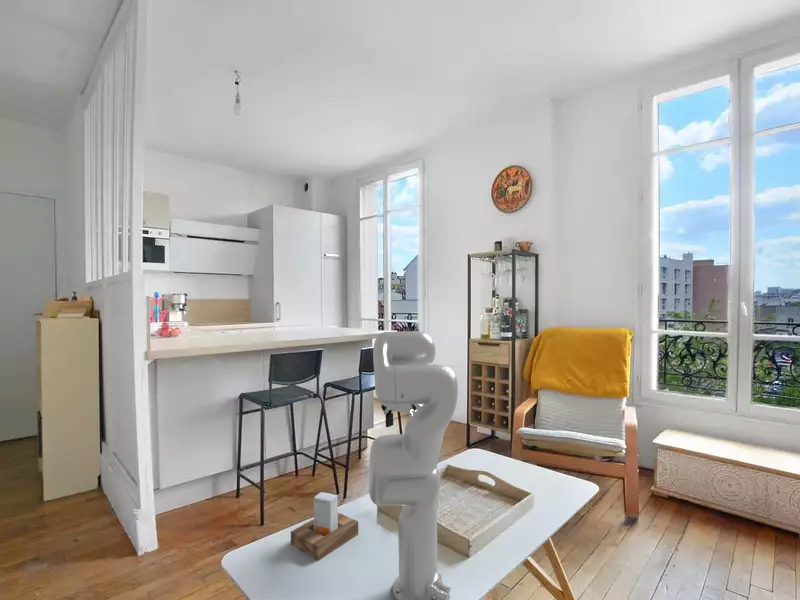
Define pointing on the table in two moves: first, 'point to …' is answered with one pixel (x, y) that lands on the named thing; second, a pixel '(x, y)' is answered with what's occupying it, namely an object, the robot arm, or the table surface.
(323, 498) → the skincare box
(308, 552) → the socket block
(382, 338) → the robot arm
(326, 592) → the table surface
